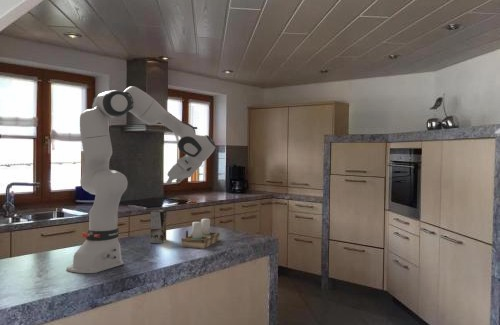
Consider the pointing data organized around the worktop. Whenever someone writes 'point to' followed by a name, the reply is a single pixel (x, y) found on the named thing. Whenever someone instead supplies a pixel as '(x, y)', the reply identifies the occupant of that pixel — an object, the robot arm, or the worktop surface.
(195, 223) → the white rounded cylinder
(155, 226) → the coffee box
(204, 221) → the sleeve
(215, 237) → the wooden compartment tray
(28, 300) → the worktop surface
